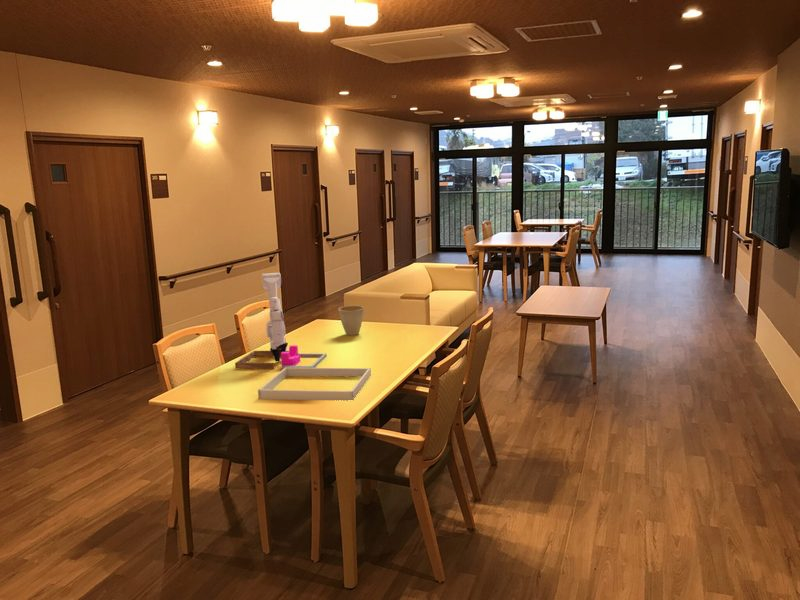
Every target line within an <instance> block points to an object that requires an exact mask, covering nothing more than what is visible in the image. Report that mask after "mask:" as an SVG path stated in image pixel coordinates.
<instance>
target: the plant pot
mask: <svg viewBox="0 0 800 600" xmlns="http://www.w3.org/2000/svg"><path fill="white" fill-rule="evenodd" d="M364 311H365V309H364V306H362V305H361V306H360V305H347V306H340V307H339V308H338V313H339V314H338V315H339V318H340V321H341V324H342V328H343V329H344V332H345V335H347V336H349V335H354V336H357V335H356V334H358V335H359V334H360V331H361V327H362V322H363V317H364Z"/></svg>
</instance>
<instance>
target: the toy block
mask: <svg viewBox="0 0 800 600" xmlns="http://www.w3.org/2000/svg"><path fill="white" fill-rule="evenodd" d="M298 348H299V347H298V345H297V344H295V345H289V346H288V351H289V352H282V353H281V357H280V362H281V366H298V365H299V363H301V357H300V355H298V353H299V351H298V350H299V349H298Z"/></svg>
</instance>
